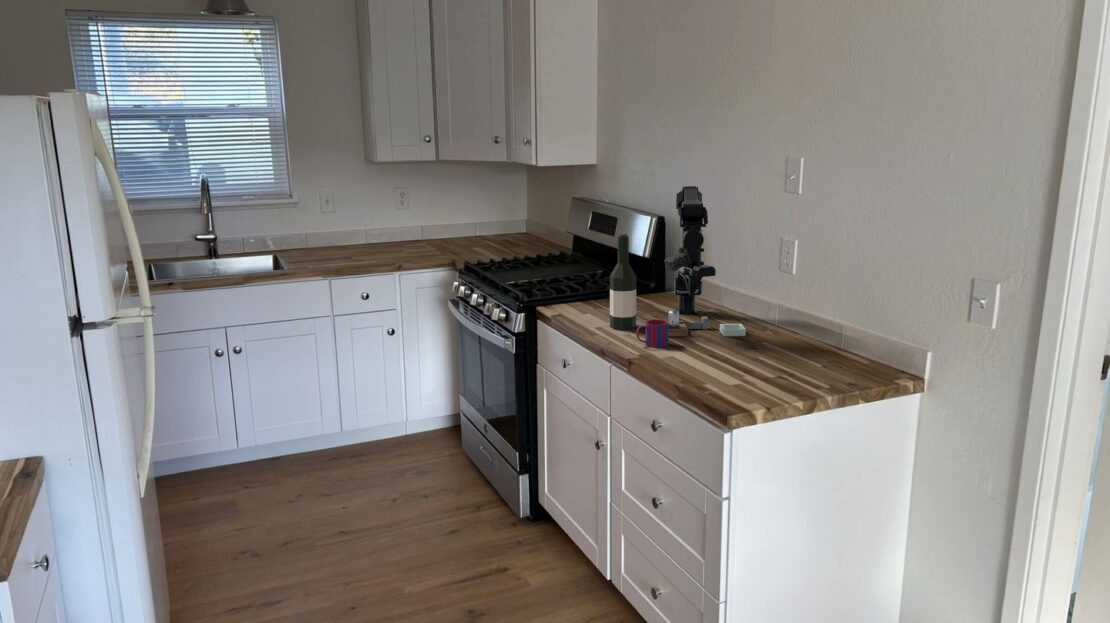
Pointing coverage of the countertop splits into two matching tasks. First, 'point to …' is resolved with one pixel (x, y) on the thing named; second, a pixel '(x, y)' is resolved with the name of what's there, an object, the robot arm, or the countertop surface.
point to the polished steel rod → (673, 319)
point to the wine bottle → (623, 289)
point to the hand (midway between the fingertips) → (690, 295)
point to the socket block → (679, 330)
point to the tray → (732, 330)
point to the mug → (655, 333)
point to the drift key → (698, 324)
